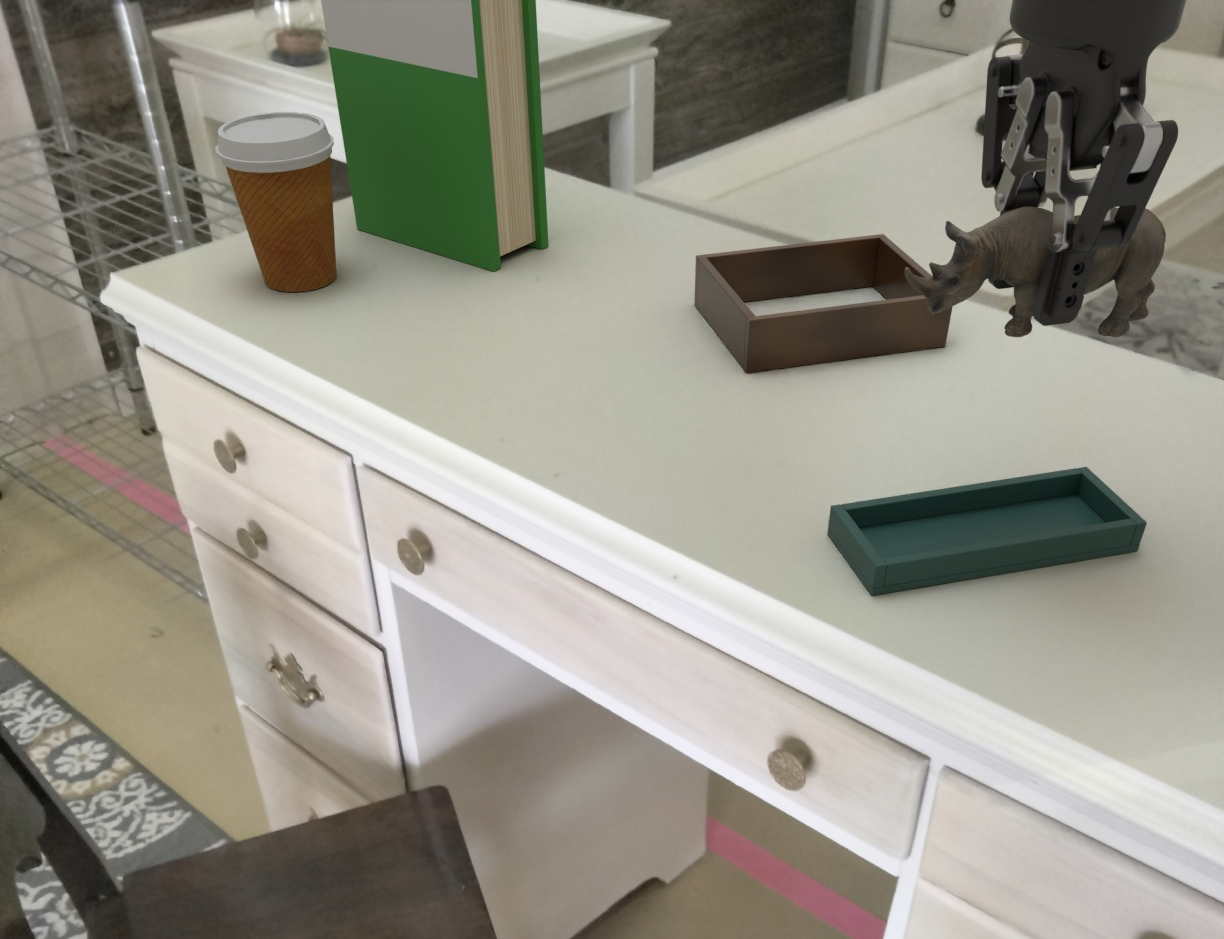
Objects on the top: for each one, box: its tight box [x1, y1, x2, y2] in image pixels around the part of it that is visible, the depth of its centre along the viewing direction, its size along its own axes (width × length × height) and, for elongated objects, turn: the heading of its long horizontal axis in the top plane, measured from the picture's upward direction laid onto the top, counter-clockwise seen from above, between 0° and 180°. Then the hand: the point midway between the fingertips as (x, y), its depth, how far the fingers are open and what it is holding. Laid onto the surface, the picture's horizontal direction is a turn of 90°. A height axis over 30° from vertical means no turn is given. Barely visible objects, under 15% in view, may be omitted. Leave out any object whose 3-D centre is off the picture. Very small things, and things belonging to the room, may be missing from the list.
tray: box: [827, 466, 1148, 596], centre depth 74 cm, size 17×7×2 cm, turn 104°
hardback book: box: [320, 0, 549, 272], centre depth 104 cm, size 18×7×24 cm, turn 51°
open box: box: [693, 233, 954, 374], centre depth 96 cm, size 16×13×4 cm
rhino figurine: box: [904, 206, 1167, 338], centre depth 63 cm, size 4×14×6 cm, turn 89°
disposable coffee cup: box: [215, 111, 338, 293], centre depth 102 cm, size 10×10×12 cm
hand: (1030, 301), depth 65 cm, fingers closed on rhino figurine, 4 cm apart
